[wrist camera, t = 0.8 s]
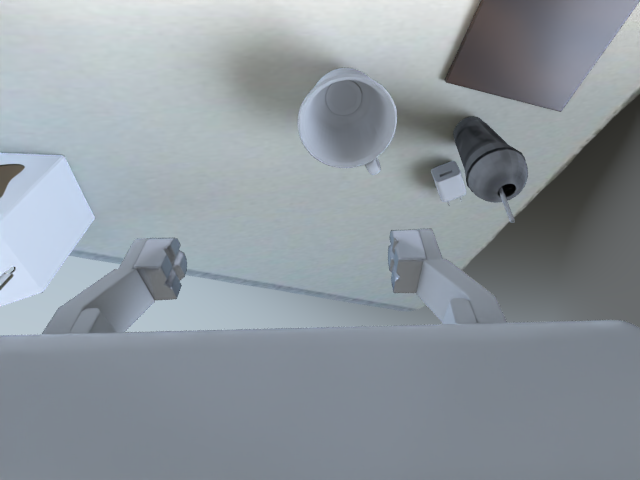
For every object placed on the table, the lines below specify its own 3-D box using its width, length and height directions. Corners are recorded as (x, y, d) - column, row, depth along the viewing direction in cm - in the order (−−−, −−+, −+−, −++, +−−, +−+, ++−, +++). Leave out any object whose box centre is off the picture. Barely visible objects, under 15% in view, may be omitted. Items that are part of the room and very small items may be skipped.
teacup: (337, 160, 59) (339, 197, 51) (283, 79, 50) (277, 110, 43) (407, 123, 54) (421, 158, 47) (362, 27, 46) (370, 52, 38)
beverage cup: (504, 127, 55) (570, 210, 40) (463, 160, 59) (511, 247, 44) (474, 97, 52) (535, 176, 37) (434, 134, 55) (474, 219, 41)
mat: (535, -119, 37) (538, -120, 36) (681, -66, 39) (687, -65, 39) (444, 80, 50) (445, 82, 49) (558, 109, 53) (561, 111, 52)
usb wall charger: (454, 159, 58) (461, 173, 56) (463, 191, 63) (470, 205, 60) (430, 169, 60) (435, 183, 57) (440, 199, 64) (446, 214, 61)
